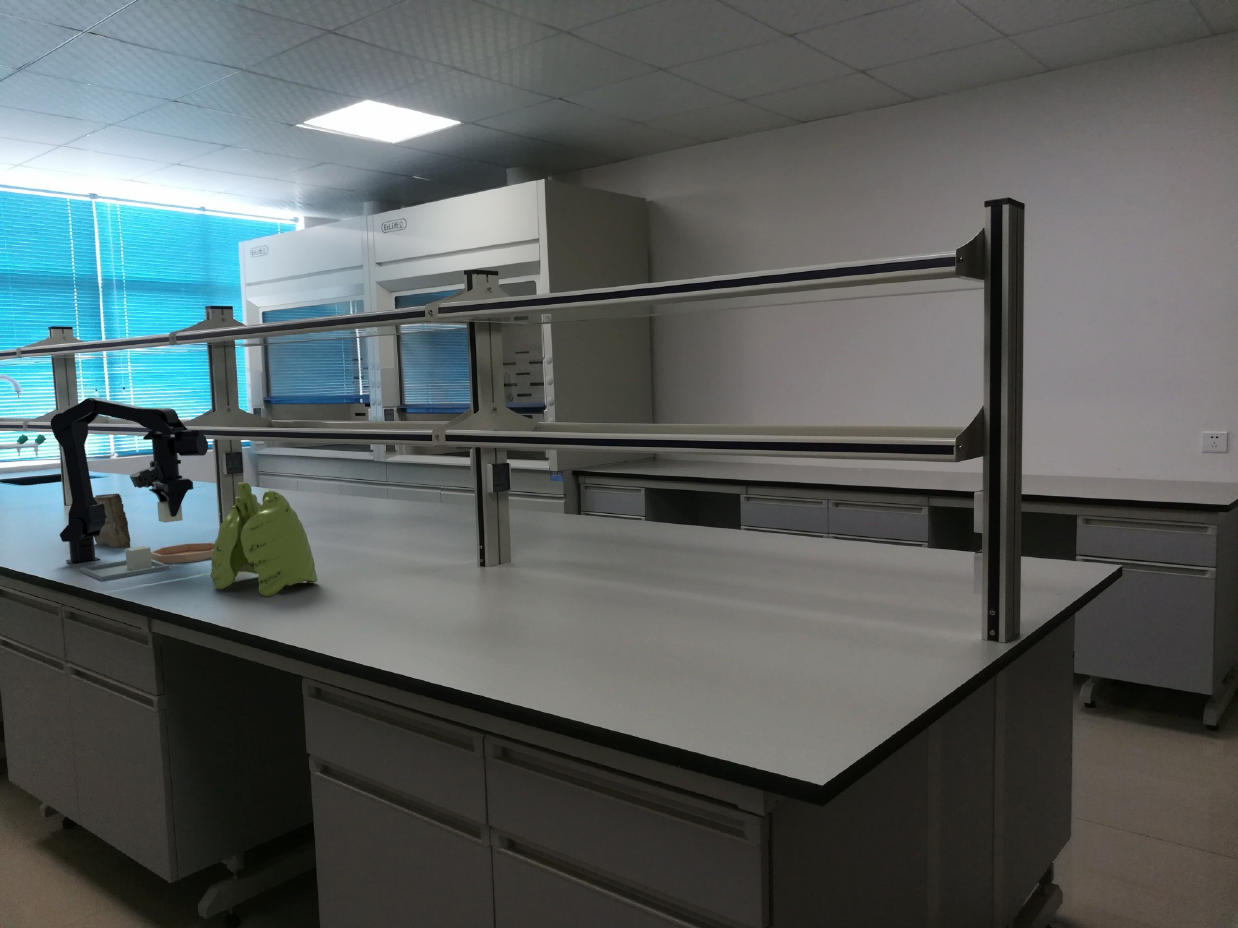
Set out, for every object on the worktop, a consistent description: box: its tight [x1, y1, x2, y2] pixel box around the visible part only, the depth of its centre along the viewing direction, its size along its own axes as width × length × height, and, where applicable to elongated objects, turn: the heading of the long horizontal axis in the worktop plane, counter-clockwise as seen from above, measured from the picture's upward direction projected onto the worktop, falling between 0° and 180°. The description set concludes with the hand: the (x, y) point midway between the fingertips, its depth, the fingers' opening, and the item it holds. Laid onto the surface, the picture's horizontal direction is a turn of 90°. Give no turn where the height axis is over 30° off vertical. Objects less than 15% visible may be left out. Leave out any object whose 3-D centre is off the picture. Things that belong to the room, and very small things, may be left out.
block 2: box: [156, 501, 183, 523], centre depth 234 cm, size 4×4×5 cm
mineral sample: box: [93, 493, 131, 549], centre depth 260 cm, size 17×4×15 cm, turn 55°
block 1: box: [124, 545, 152, 571], centre depth 224 cm, size 4×4×5 cm
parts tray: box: [79, 559, 171, 582], centre depth 222 cm, size 17×15×2 cm
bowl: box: [151, 542, 215, 564], centre depth 238 cm, size 16×16×2 cm
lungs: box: [210, 481, 318, 598], centre depth 202 cm, size 25×16×24 cm, turn 61°
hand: (170, 515), depth 234 cm, fingers closed on block 2, 4 cm apart
